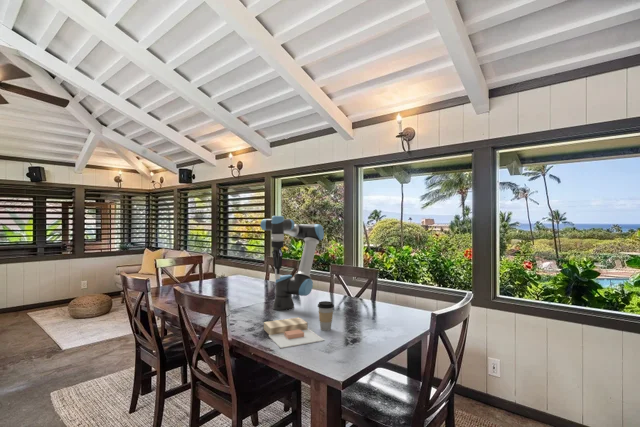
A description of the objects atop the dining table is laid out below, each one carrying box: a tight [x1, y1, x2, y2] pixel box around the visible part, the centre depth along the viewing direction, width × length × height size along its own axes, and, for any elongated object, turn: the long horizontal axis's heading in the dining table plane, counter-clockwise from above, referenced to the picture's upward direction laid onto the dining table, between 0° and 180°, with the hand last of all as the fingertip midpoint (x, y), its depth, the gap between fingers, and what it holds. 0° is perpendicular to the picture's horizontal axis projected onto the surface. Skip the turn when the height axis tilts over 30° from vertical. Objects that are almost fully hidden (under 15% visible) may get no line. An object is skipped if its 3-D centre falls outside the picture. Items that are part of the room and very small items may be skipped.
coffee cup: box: [317, 300, 335, 332], centre depth 186 cm, size 9×9×15 cm
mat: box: [268, 328, 325, 349], centre depth 171 cm, size 24×19×1 cm
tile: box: [284, 329, 304, 339], centre depth 173 cm, size 9×6×2 cm, turn 116°
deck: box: [263, 317, 309, 336], centre depth 184 cm, size 22×12×4 cm, turn 117°
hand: (277, 279), depth 199 cm, fingers closed
